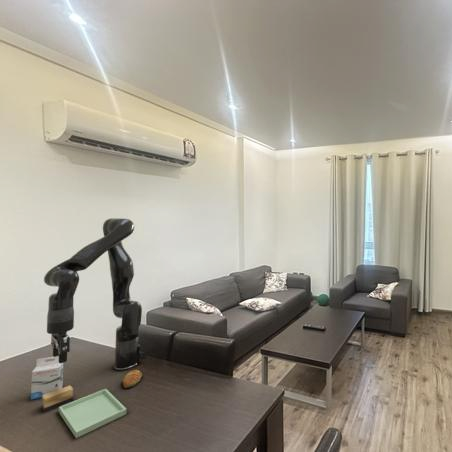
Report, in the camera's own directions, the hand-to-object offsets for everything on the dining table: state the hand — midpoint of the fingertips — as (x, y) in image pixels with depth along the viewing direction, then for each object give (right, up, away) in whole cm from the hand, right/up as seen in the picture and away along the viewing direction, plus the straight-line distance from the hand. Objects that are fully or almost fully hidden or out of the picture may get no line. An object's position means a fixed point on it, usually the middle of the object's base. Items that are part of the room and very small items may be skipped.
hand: (59, 359), depth 107 cm
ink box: (-11, -18, +6) cm, 22 cm away
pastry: (+17, -19, +16) cm, 30 cm away
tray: (+17, -19, -4) cm, 26 cm away
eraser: (-1, -18, 0) cm, 18 cm away
